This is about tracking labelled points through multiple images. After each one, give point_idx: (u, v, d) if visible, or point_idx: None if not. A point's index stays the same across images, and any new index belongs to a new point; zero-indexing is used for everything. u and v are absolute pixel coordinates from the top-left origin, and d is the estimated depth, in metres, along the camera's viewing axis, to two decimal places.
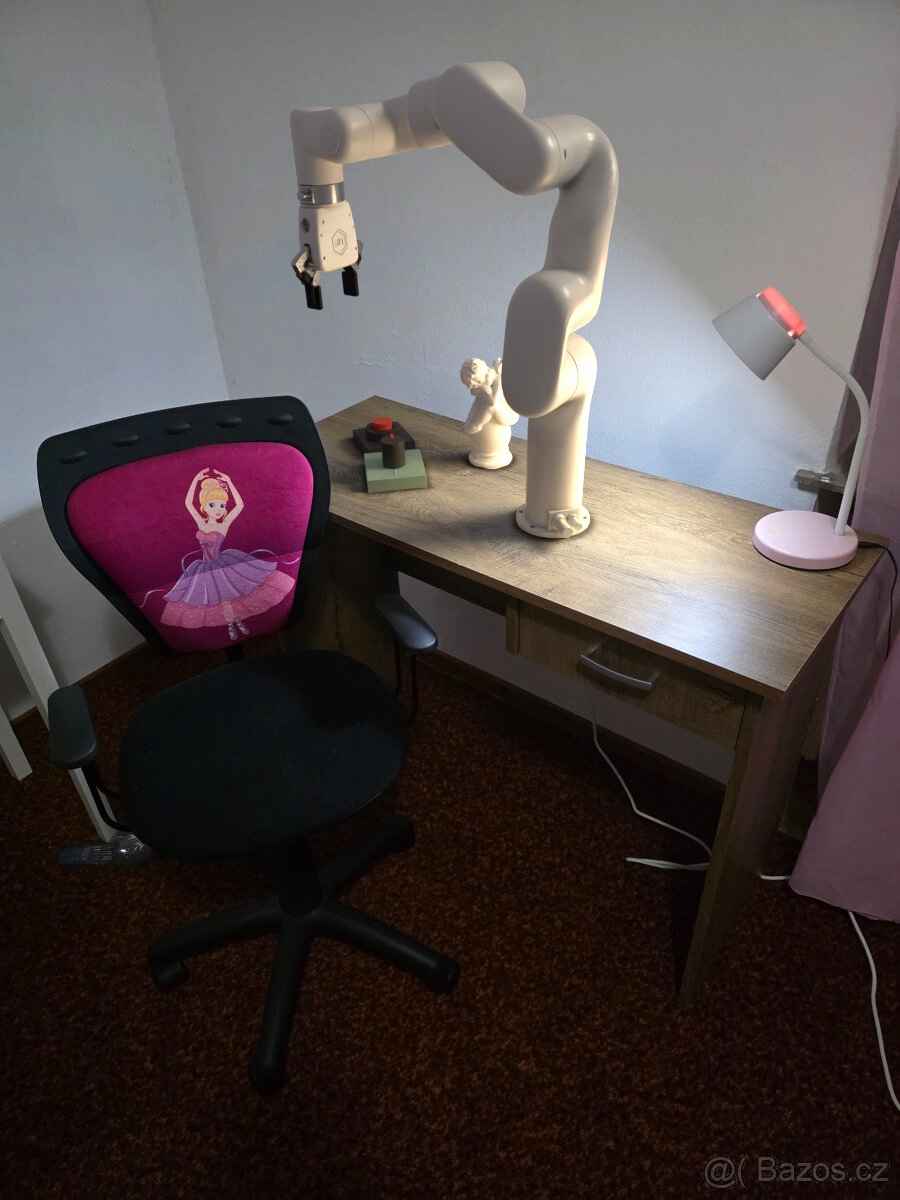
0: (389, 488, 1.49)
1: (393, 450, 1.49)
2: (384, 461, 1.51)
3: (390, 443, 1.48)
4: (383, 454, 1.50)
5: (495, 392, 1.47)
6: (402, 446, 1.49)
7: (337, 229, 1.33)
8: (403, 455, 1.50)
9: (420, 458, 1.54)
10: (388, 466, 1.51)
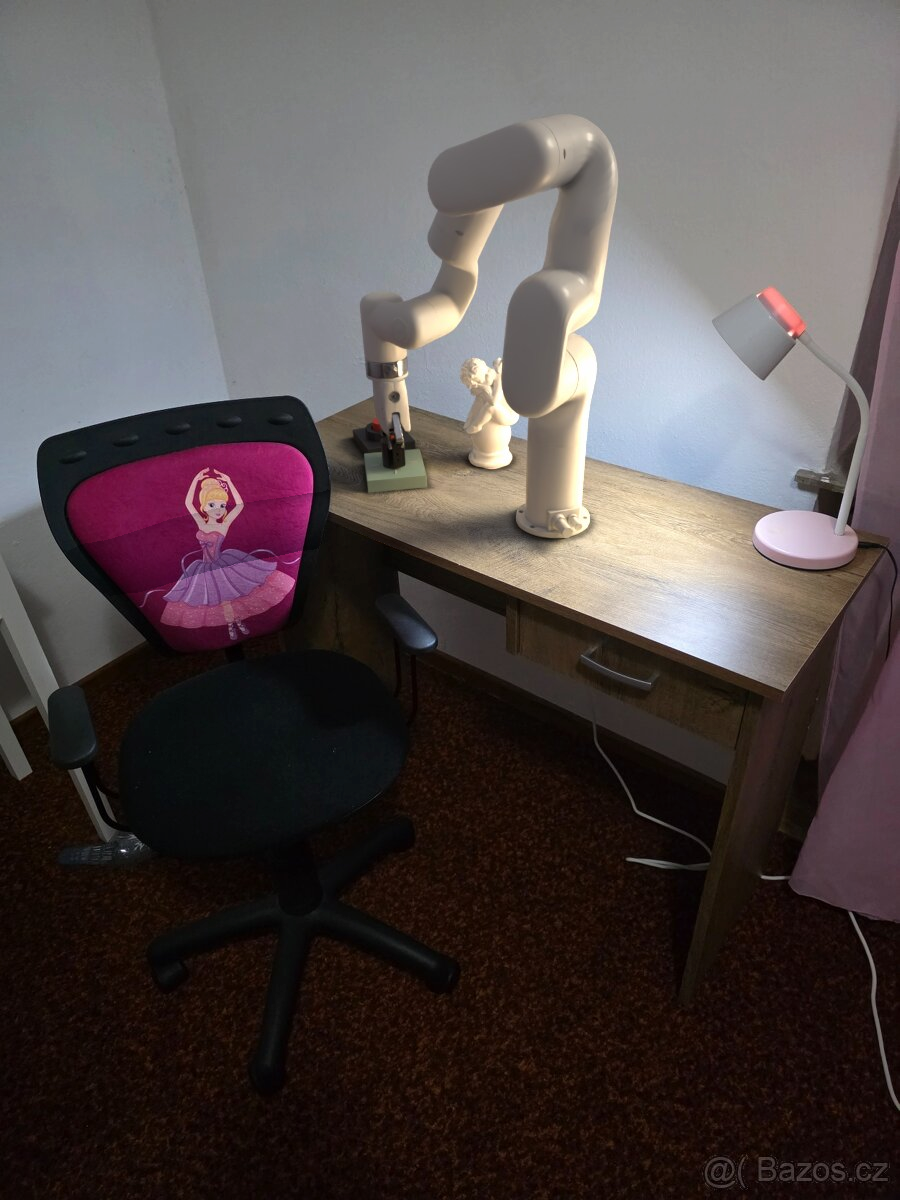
0: (389, 488, 1.49)
1: None
2: (383, 461, 1.51)
3: None
4: (383, 454, 1.50)
5: (495, 392, 1.47)
6: None
7: None
8: None
9: (420, 458, 1.54)
10: (388, 466, 1.51)
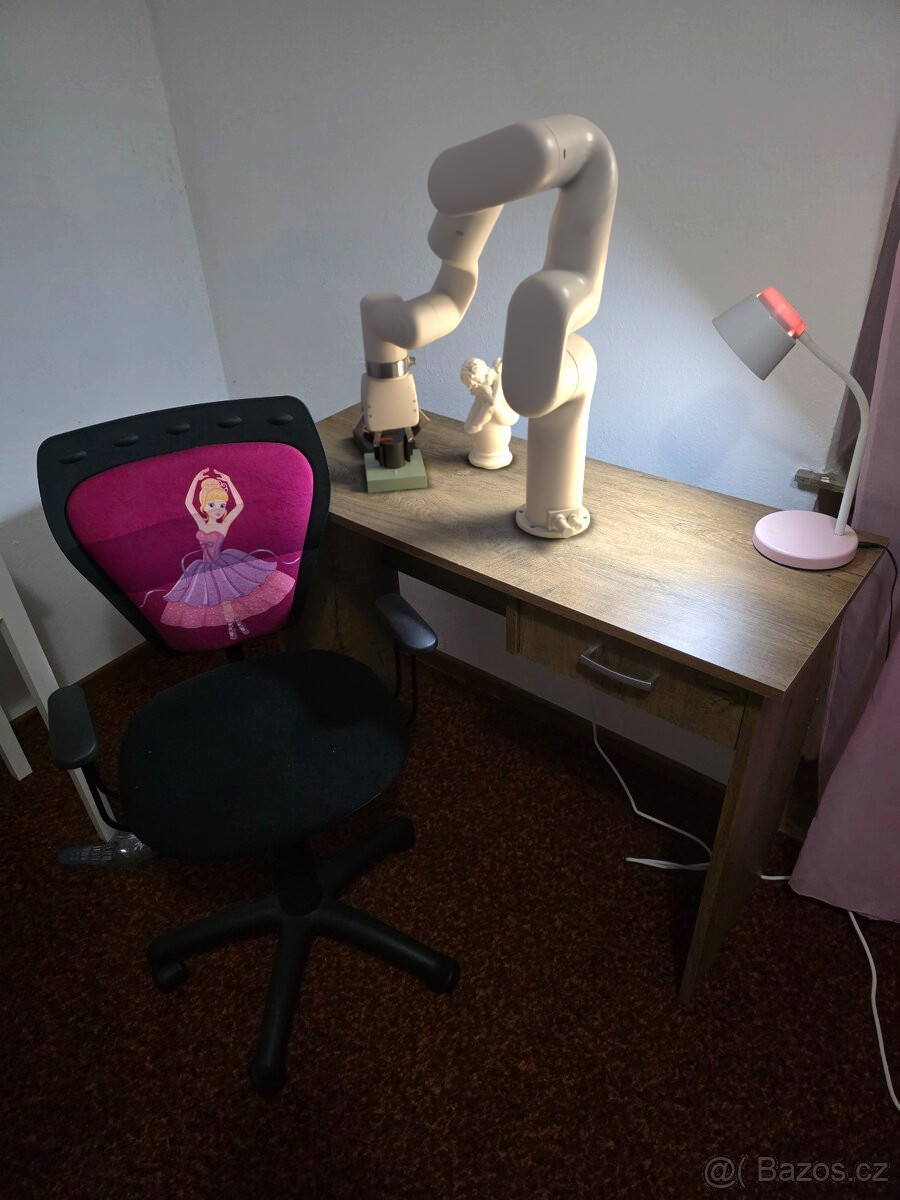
0: (389, 488, 1.49)
1: (404, 445, 1.50)
2: (399, 462, 1.50)
3: (401, 439, 1.49)
4: (399, 455, 1.50)
5: (495, 392, 1.47)
6: None
7: None
8: None
9: (420, 458, 1.54)
10: (404, 463, 1.51)
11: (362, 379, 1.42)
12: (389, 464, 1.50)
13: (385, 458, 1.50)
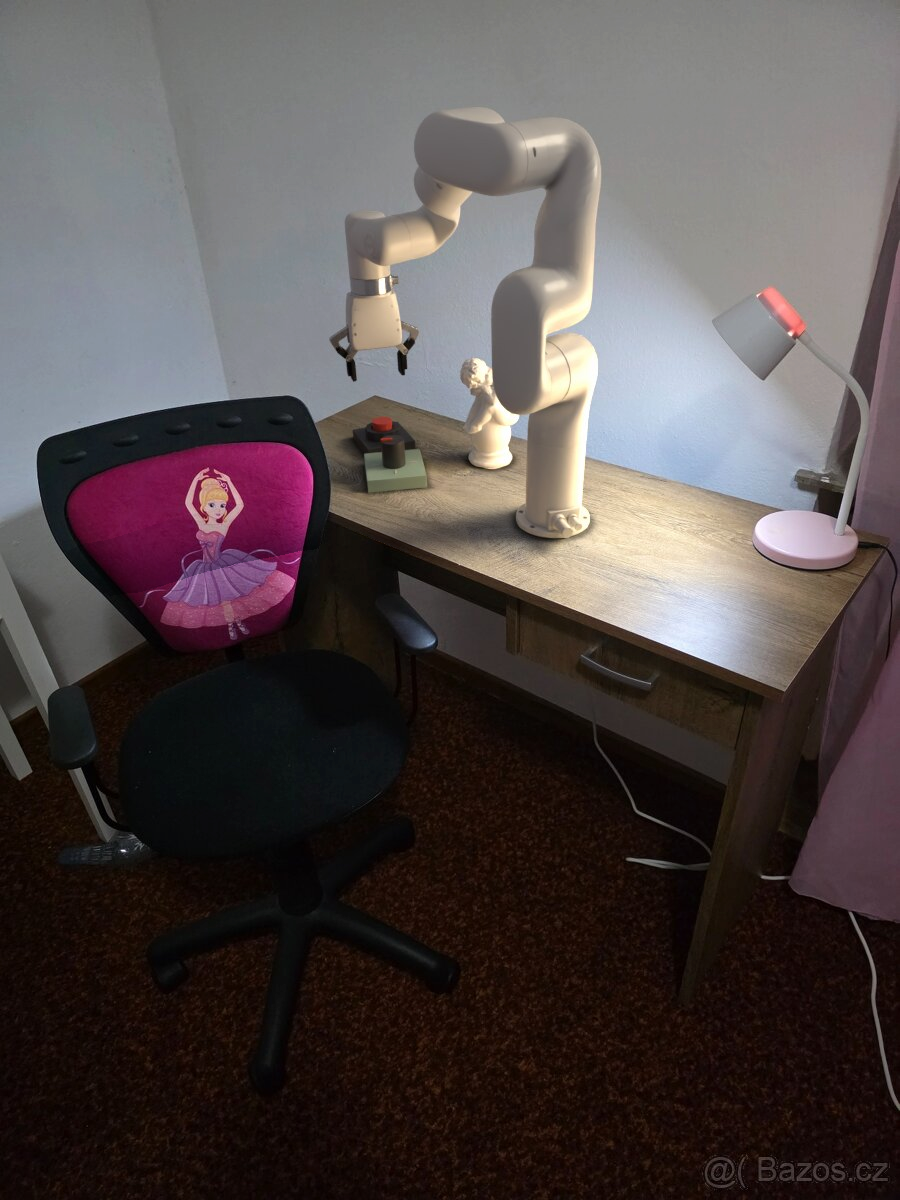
0: (389, 488, 1.49)
1: (404, 445, 1.50)
2: (400, 462, 1.50)
3: (401, 439, 1.49)
4: (399, 455, 1.50)
5: None
6: None
7: None
8: None
9: (420, 458, 1.54)
10: (404, 463, 1.51)
11: (347, 298, 1.47)
12: (389, 464, 1.50)
13: (385, 458, 1.50)
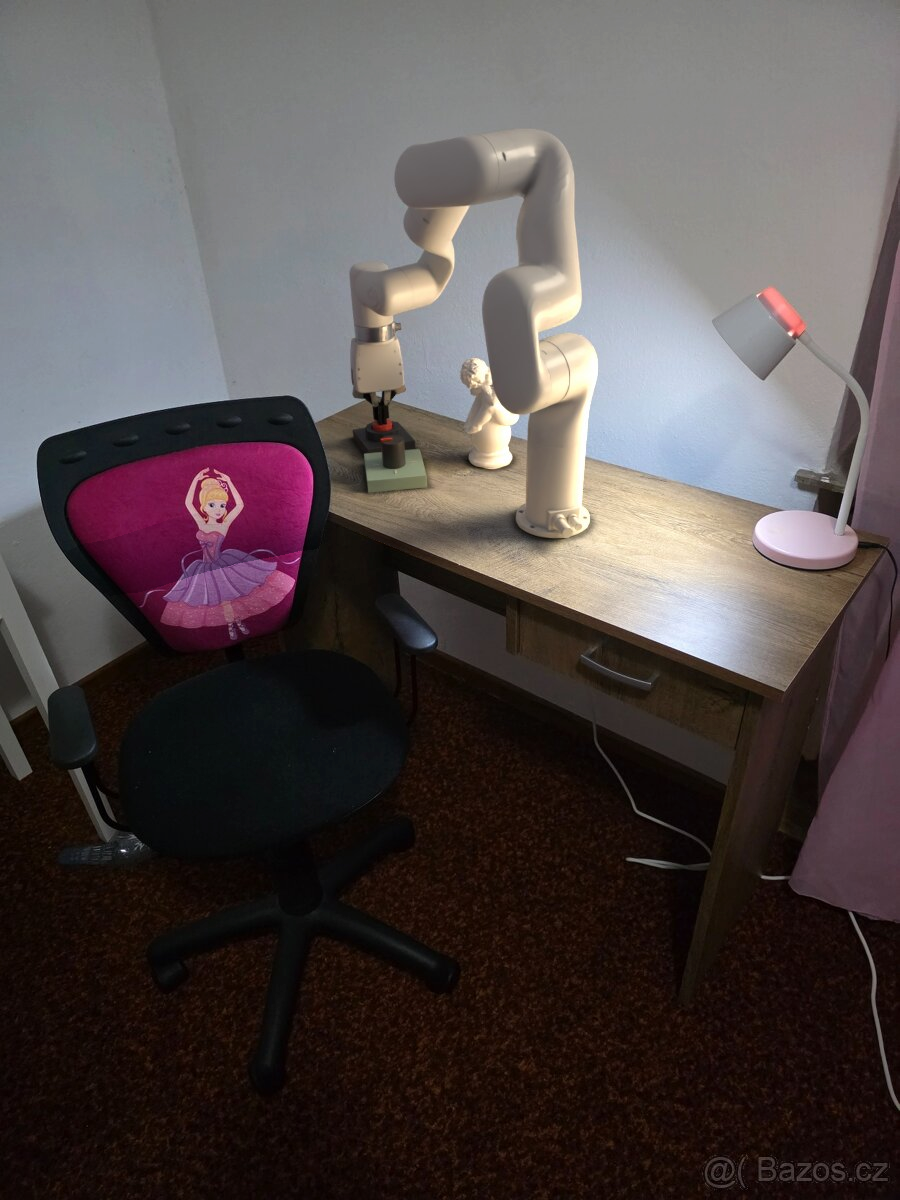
0: (389, 488, 1.49)
1: (404, 445, 1.50)
2: (400, 462, 1.50)
3: (401, 439, 1.49)
4: (399, 455, 1.50)
5: None
6: None
7: None
8: None
9: (420, 458, 1.54)
10: (404, 463, 1.51)
11: (351, 343, 1.53)
12: (389, 464, 1.50)
13: (385, 458, 1.50)
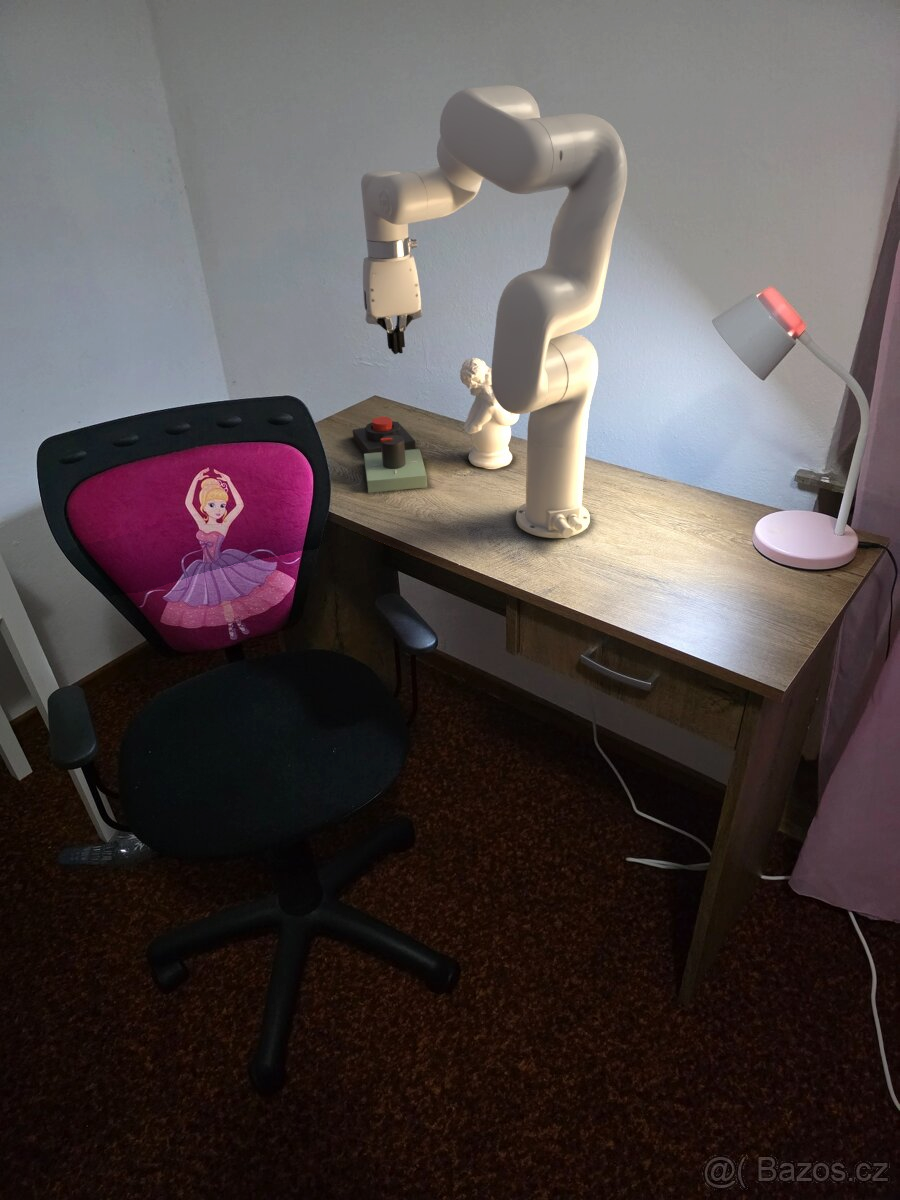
0: (389, 488, 1.49)
1: (404, 445, 1.50)
2: (400, 462, 1.50)
3: (401, 439, 1.49)
4: (399, 455, 1.50)
5: None
6: None
7: None
8: None
9: (420, 458, 1.54)
10: (404, 463, 1.51)
11: (364, 262, 1.43)
12: (389, 464, 1.50)
13: (385, 458, 1.50)
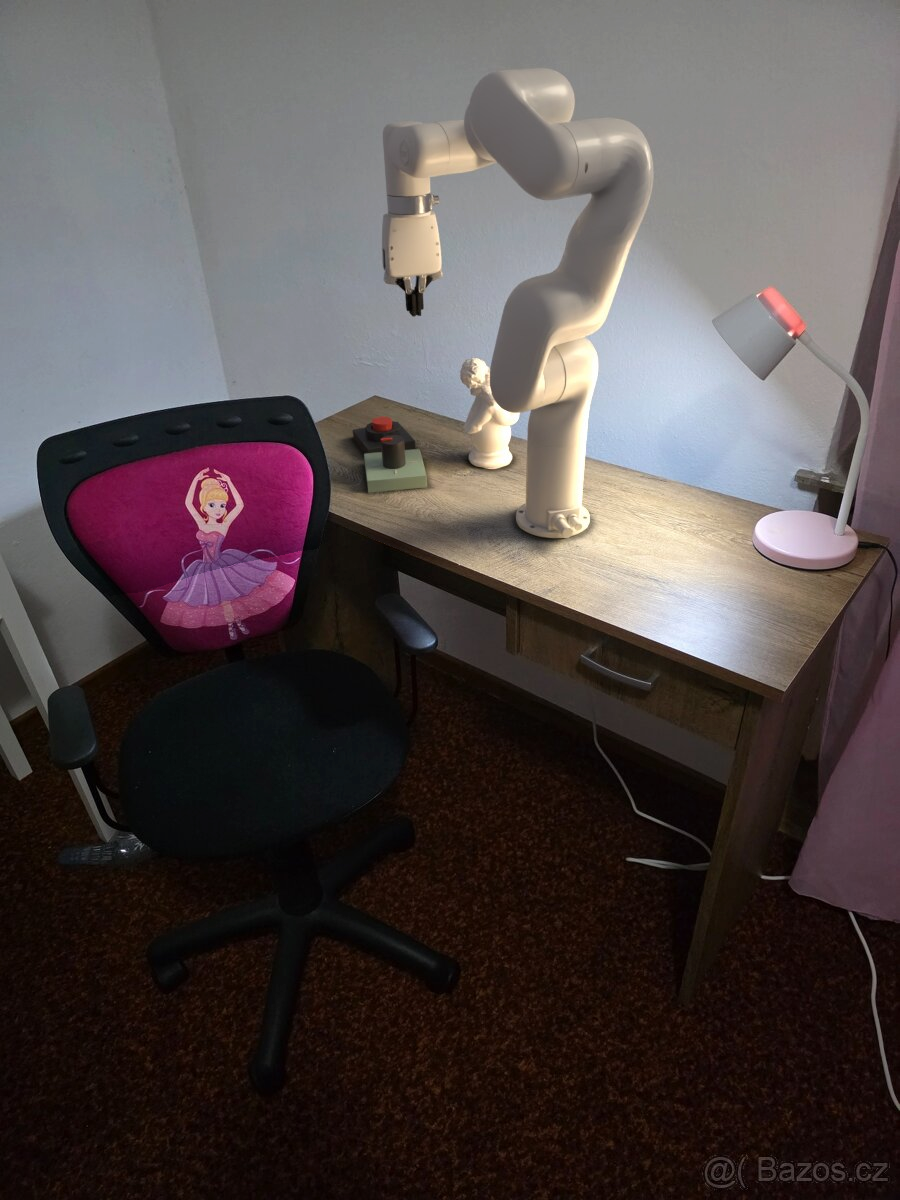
0: (389, 488, 1.49)
1: (404, 445, 1.50)
2: (400, 462, 1.50)
3: (401, 439, 1.49)
4: (399, 455, 1.50)
5: None
6: None
7: None
8: None
9: (420, 458, 1.54)
10: (404, 463, 1.51)
11: (384, 218, 1.38)
12: (389, 464, 1.50)
13: (385, 458, 1.50)
